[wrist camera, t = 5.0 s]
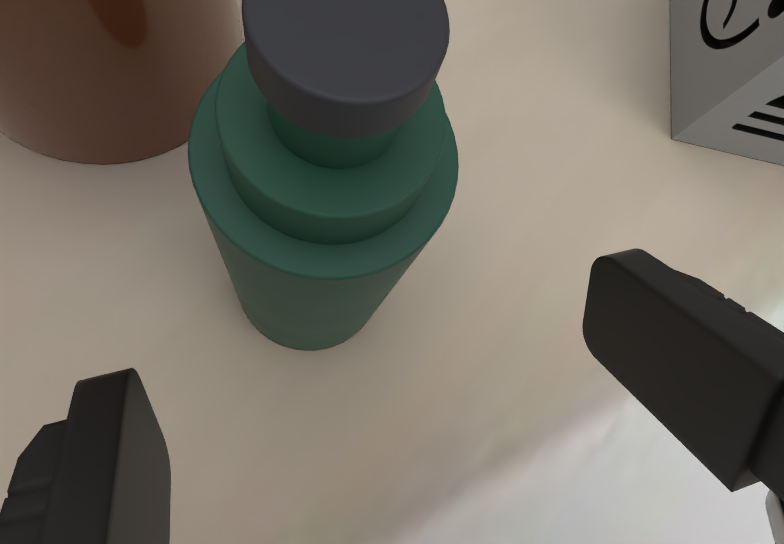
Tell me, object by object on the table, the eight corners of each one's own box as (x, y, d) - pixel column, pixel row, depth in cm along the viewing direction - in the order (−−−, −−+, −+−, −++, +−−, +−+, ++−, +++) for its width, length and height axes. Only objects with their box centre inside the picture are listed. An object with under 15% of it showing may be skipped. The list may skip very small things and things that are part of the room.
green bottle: (206, 285, 21) (30, -5, 7) (304, 188, 23) (330, -204, 9) (316, 381, 21) (375, 290, 7) (406, 275, 23) (609, 22, 8)
